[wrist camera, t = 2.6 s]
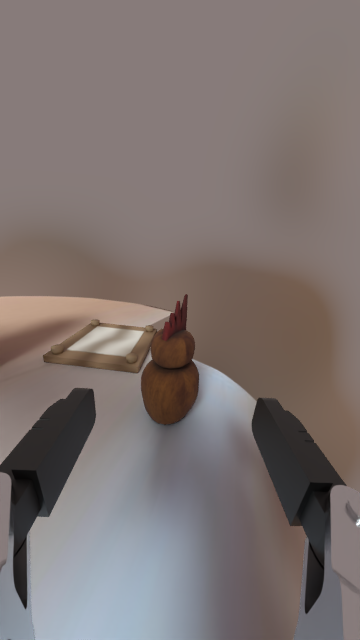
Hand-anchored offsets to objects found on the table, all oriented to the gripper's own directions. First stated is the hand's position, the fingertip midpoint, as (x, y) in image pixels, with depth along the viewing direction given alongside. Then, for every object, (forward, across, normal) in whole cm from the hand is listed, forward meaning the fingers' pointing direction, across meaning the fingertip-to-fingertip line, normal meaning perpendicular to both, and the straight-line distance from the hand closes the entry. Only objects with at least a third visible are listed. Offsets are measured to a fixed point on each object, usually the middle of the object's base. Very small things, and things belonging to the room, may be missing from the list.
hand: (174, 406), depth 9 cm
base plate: (+28, +13, +12) cm, 33 cm away
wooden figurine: (+12, 0, +12) cm, 17 cm away
